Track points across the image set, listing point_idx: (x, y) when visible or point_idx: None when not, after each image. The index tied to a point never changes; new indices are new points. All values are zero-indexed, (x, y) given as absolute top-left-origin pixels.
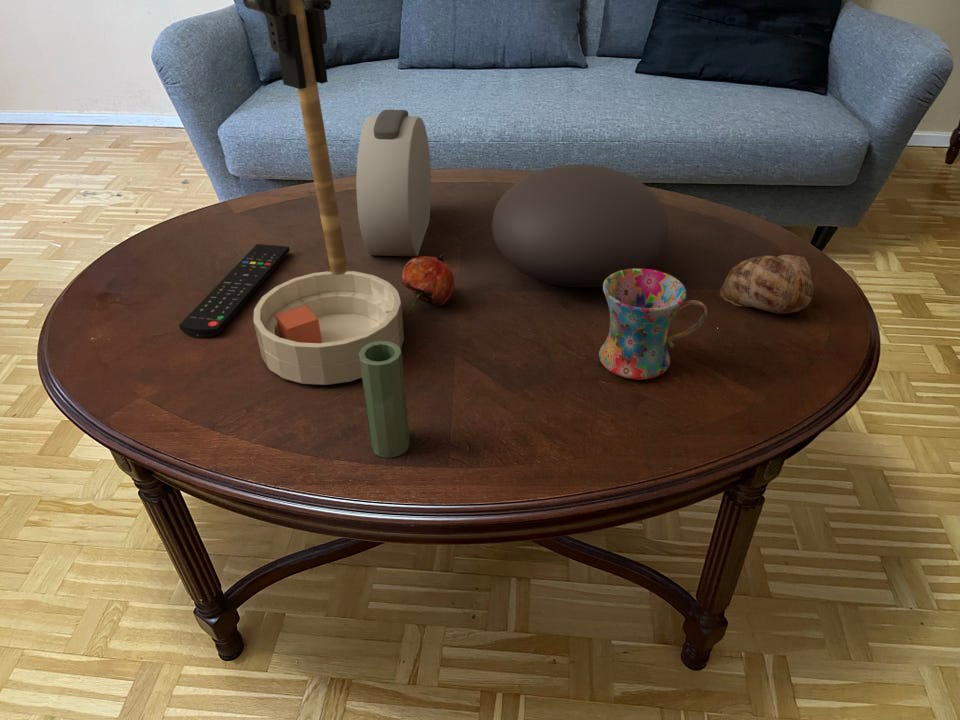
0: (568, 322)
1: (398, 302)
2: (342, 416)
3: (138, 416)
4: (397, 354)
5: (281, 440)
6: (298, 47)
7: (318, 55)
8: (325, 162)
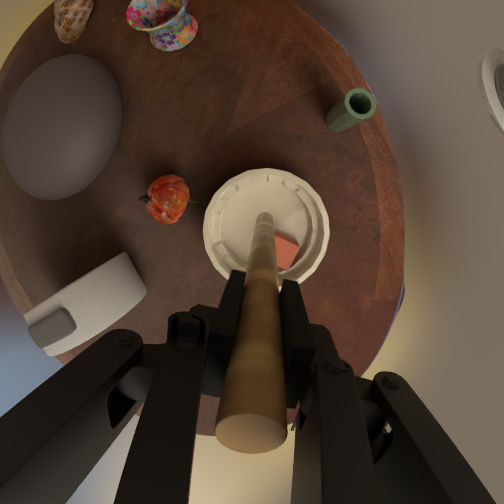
0: (146, 90)
1: (230, 181)
2: (331, 165)
3: (387, 284)
4: (355, 90)
5: (368, 186)
6: (294, 310)
7: (241, 290)
8: (266, 240)
